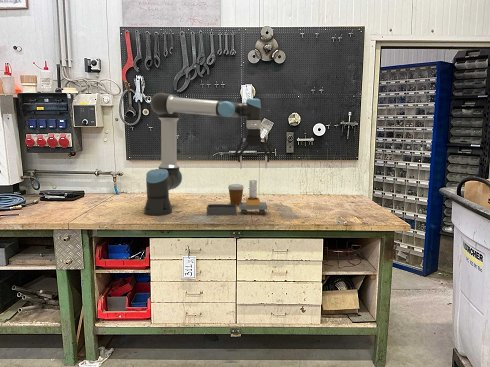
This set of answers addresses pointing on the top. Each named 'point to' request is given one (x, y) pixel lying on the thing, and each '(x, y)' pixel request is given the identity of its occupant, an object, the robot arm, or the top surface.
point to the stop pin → (252, 190)
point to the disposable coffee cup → (235, 193)
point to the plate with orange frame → (252, 206)
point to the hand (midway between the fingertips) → (253, 168)
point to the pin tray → (221, 209)
